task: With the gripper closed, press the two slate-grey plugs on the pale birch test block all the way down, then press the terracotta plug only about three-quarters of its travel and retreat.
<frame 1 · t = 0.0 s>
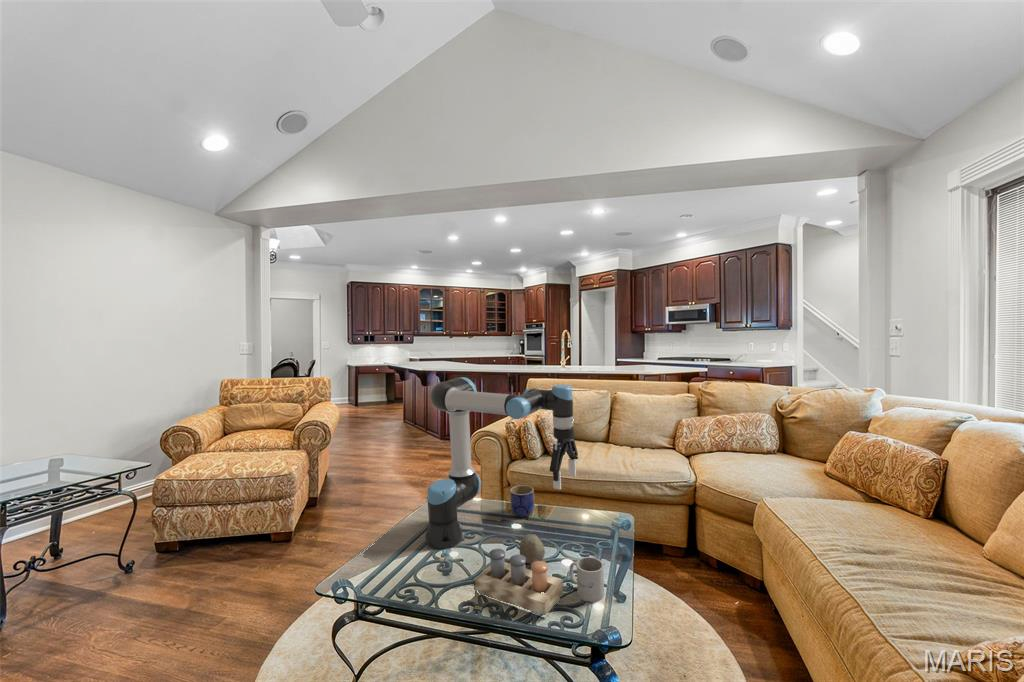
hand: (565, 482, 169), 28 cm above the table, fingers open, 13 cm apart
terracotta plug: (539, 576, 144), point 9 cm above the table, slide at 0.0 cm
test block: (519, 593, 149), on the table
slate plug a: (497, 562, 152), point 8 cm above the table, slide at 0.0 cm
mug: (586, 591, 149), on the table
planter: (522, 513, 206), on the table
slate plug b: (518, 569, 148), point 8 cm above the table, slide at 0.0 cm
decorative stone: (531, 562, 167), on the table
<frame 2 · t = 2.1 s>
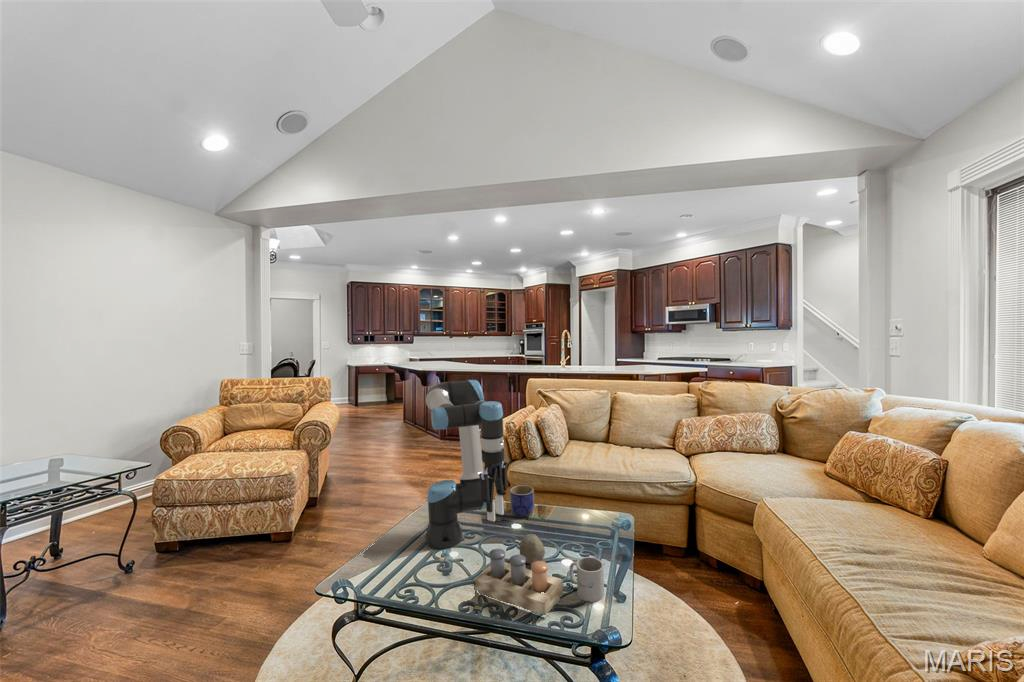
hand: (495, 516, 151), 25 cm above the table, fingers open, 4 cm apart
nothing on the table moved.
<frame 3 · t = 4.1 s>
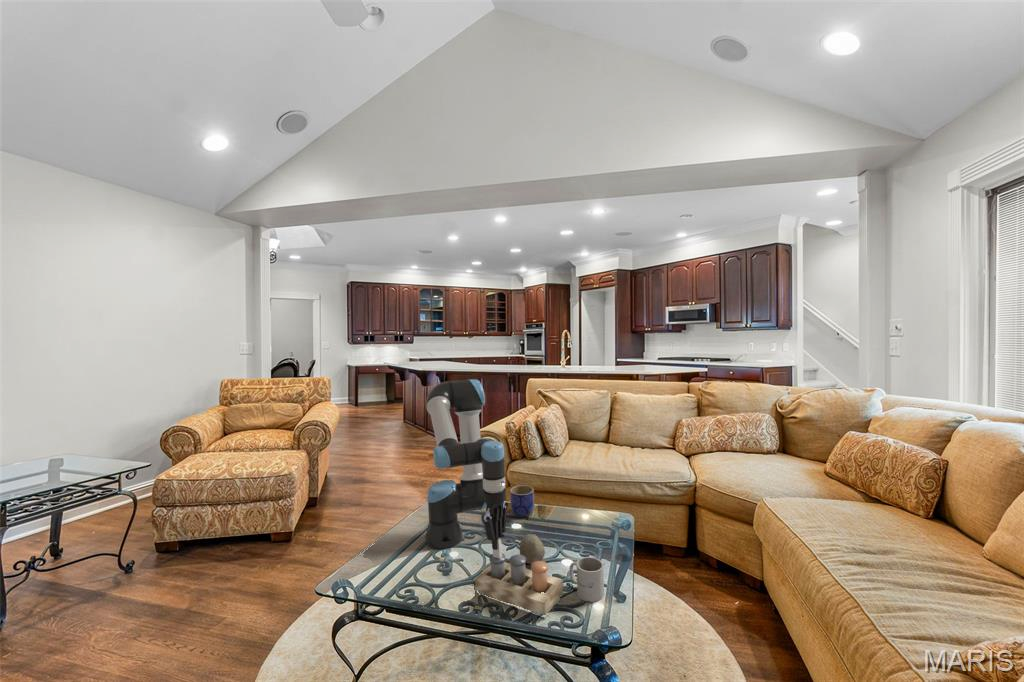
hand: (497, 556, 152), 11 cm above the table, fingers closed
slate plug a: (497, 567, 152), point 7 cm above the table, slide at 1.5 cm, touching gripper
everything else where it was.
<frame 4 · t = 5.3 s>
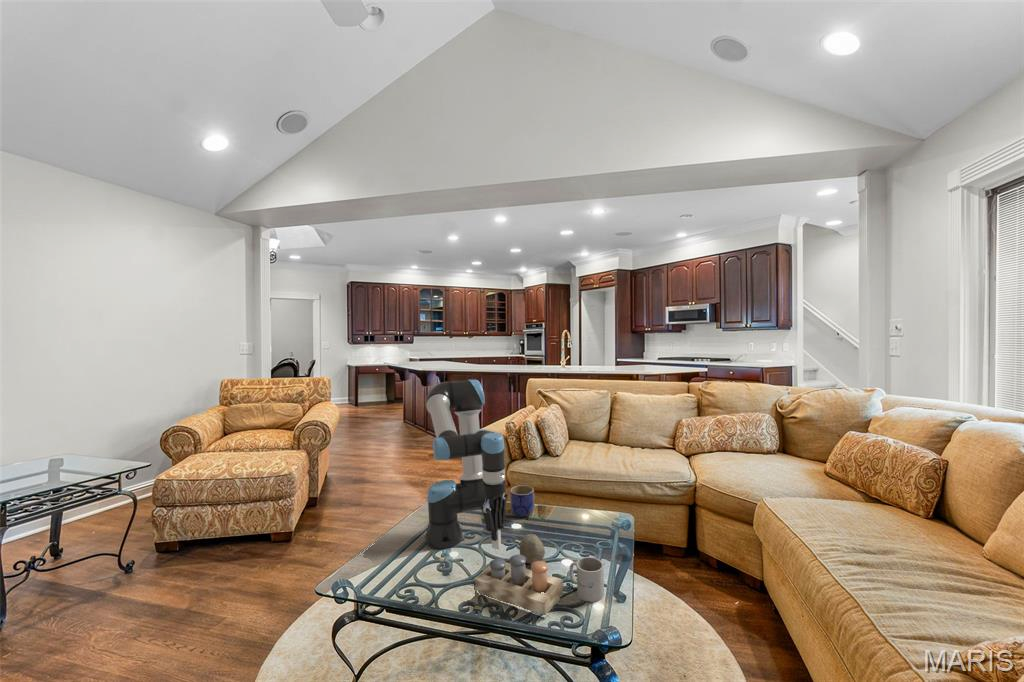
hand: (496, 547, 152), 14 cm above the table, fingers closed
slate plug a: (498, 573, 152), point 5 cm above the table, slide at 3.6 cm
everything else where it was.
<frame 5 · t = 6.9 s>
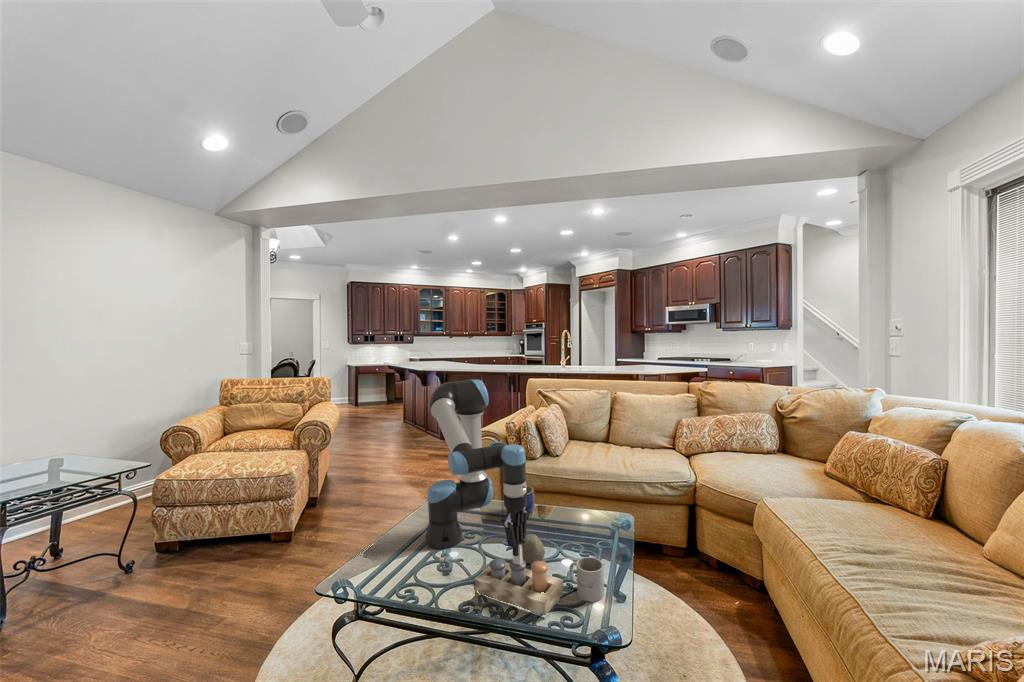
hand: (518, 563, 148), 11 cm above the table, fingers closed
slate plug b: (518, 573, 148), point 7 cm above the table, slide at 1.6 cm, touching gripper
everything else where it was.
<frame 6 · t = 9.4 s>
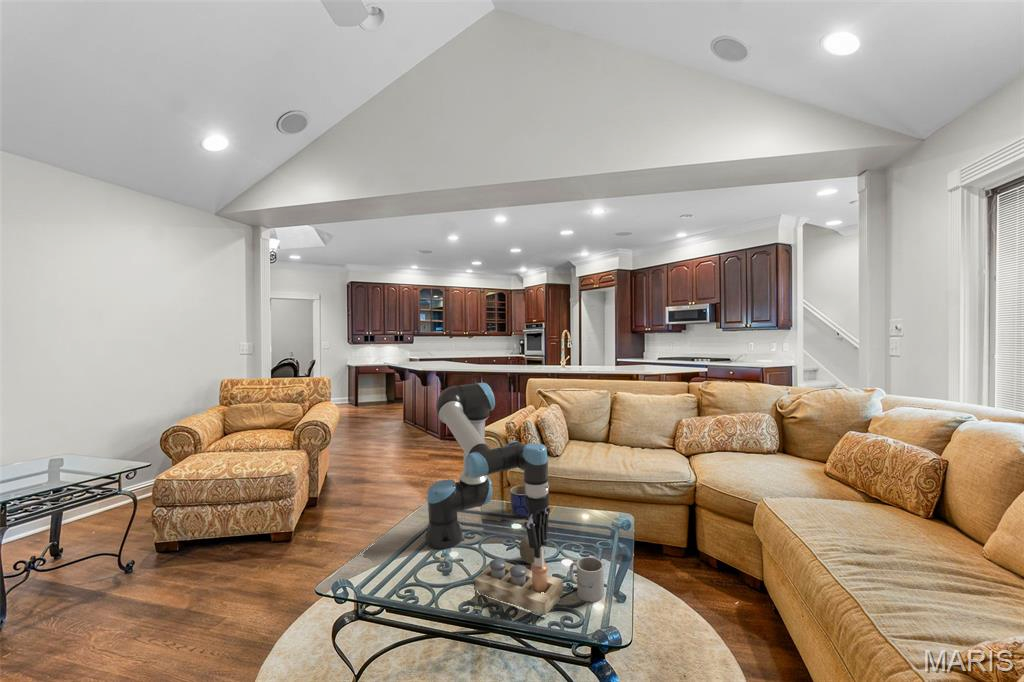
hand: (539, 565, 143), 12 cm above the table, fingers closed
terracotta plug: (539, 576, 144), point 8 cm above the table, slide at 0.1 cm, touching gripper
slate plug b: (518, 579, 148), point 5 cm above the table, slide at 3.6 cm
everything else where it was.
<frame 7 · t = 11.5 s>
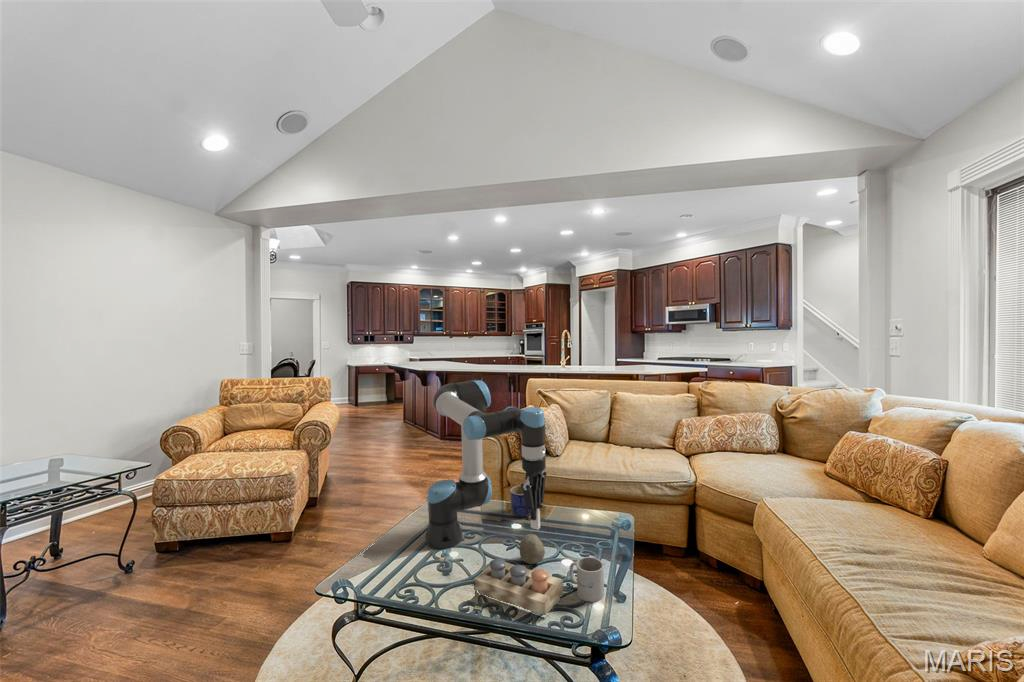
hand: (535, 527, 145), 23 cm above the table, fingers closed
terracotta plug: (539, 584, 144), point 6 cm above the table, slide at 2.8 cm
everything else where it was.
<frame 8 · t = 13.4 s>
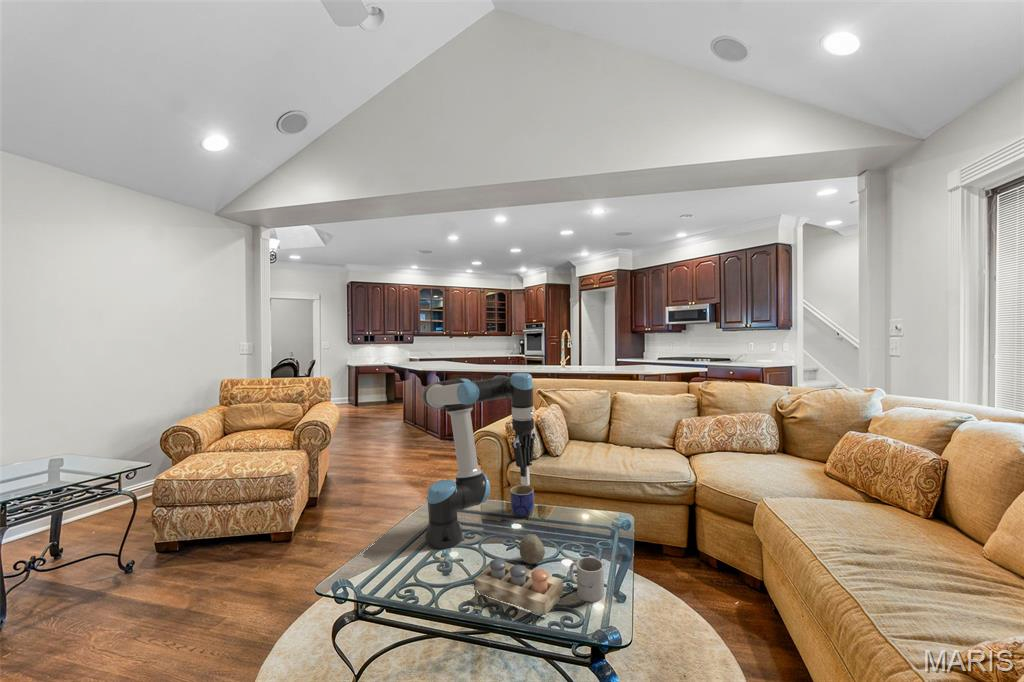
hand: (525, 484, 158), 32 cm above the table, fingers closed
nothing on the table moved.
at the end: slate plug a slide at 3.6 cm; slate plug b slide at 3.6 cm; terracotta plug slide at 2.8 cm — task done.
